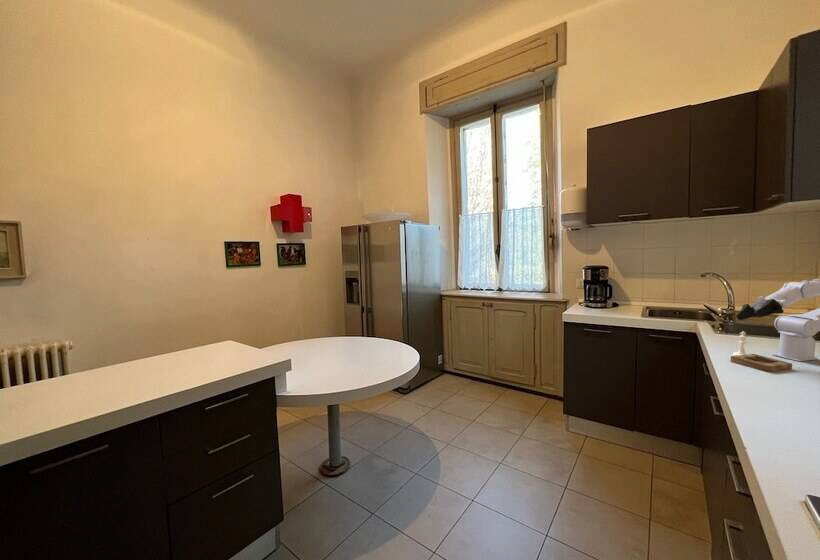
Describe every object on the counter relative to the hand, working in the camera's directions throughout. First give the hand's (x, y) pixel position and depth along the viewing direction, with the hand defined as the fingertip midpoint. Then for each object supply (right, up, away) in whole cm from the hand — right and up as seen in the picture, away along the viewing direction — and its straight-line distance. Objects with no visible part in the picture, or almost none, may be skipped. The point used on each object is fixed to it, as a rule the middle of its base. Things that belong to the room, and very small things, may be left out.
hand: (747, 316), depth 121 cm
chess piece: (+4, -17, +6) cm, 18 cm away
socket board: (+1, -17, -4) cm, 18 cm away
